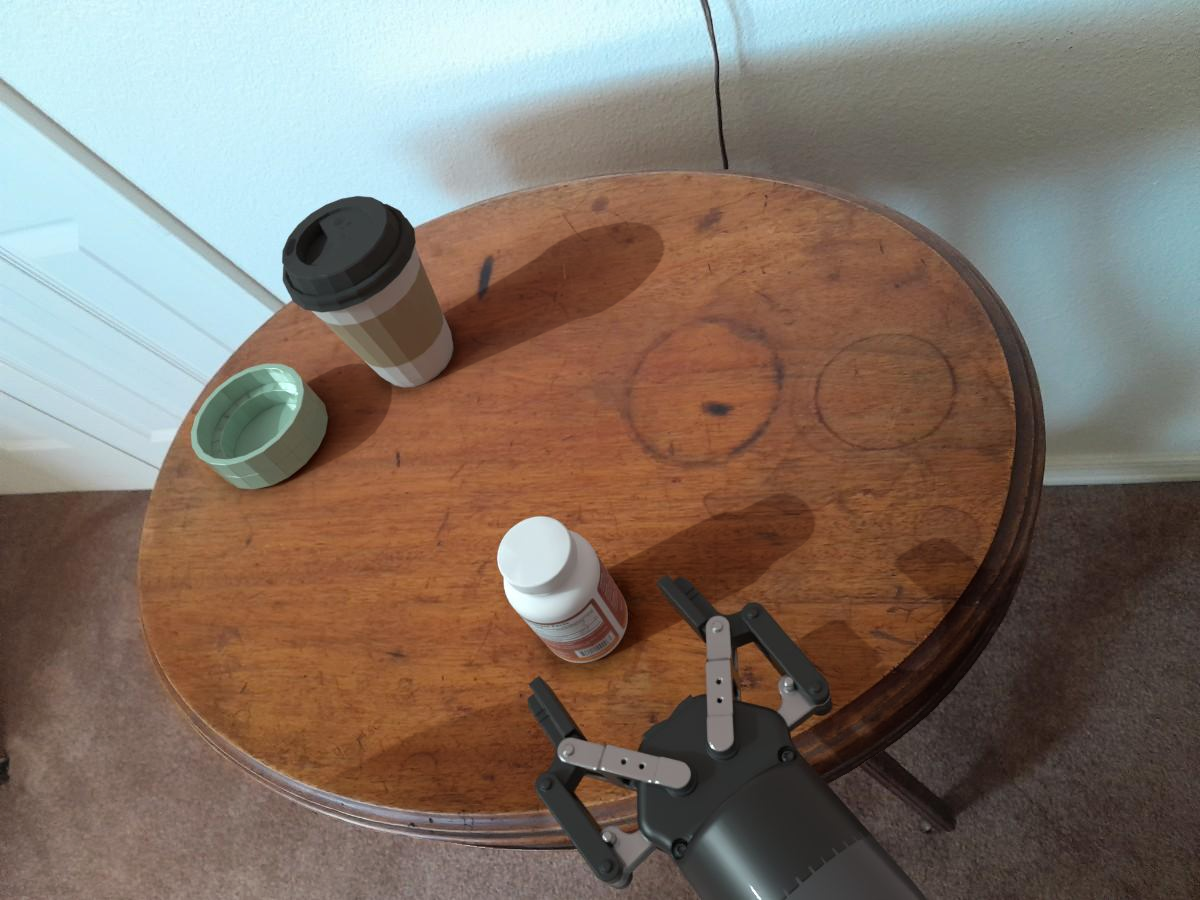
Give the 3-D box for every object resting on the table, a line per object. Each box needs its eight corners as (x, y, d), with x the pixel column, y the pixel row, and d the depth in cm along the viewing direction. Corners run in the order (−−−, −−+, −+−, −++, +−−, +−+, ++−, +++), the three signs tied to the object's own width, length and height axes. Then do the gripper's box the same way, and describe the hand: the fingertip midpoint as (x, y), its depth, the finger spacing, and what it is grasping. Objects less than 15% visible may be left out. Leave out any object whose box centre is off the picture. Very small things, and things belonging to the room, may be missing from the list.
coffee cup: (368, 325, 83) (281, 206, 72) (478, 299, 81) (407, 171, 69) (354, 418, 77) (256, 303, 65) (473, 392, 75) (393, 268, 63)
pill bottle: (569, 570, 62) (515, 492, 53) (644, 597, 59) (601, 519, 50) (529, 648, 59) (466, 579, 51) (605, 679, 57) (553, 612, 48)
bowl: (299, 496, 73) (269, 468, 70) (202, 487, 77) (169, 460, 74) (348, 395, 79) (322, 364, 75) (256, 391, 83) (227, 362, 79)
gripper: (939, 770, 34) (689, 517, 44) (664, 1019, 32) (466, 696, 42) (934, 811, 40) (715, 580, 50) (701, 1023, 38) (520, 739, 48)
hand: (601, 633), depth 46 cm, fingers open, 8 cm apart
